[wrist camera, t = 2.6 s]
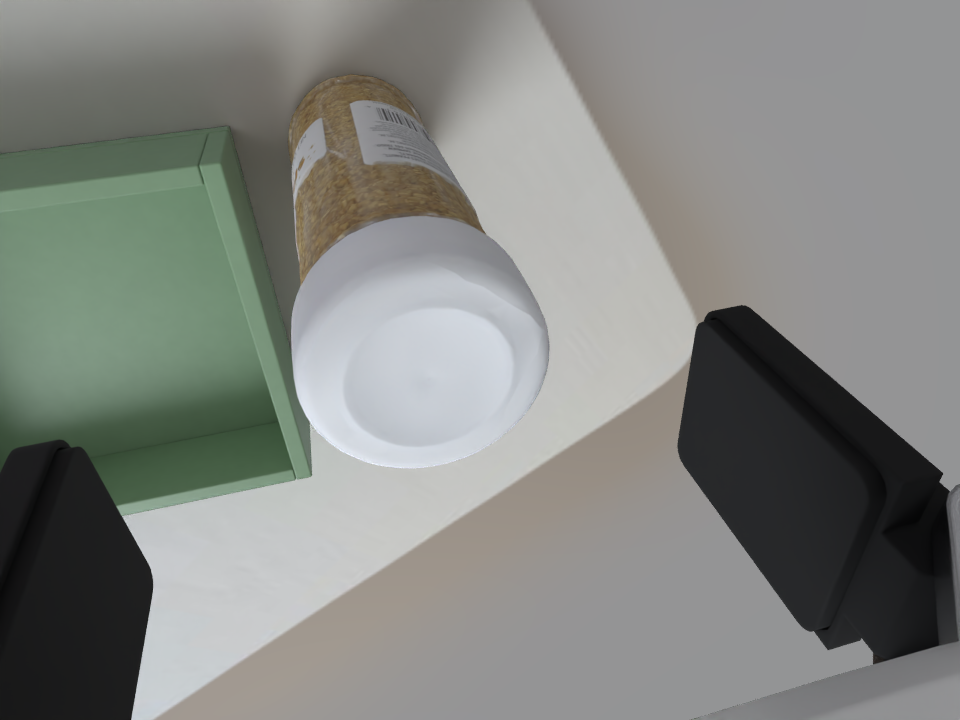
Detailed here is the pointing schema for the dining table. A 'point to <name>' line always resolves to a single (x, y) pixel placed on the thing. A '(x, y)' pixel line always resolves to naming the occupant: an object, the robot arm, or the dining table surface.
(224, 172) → the green bin
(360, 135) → the sprinkles bottle
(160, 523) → the dining table surface
